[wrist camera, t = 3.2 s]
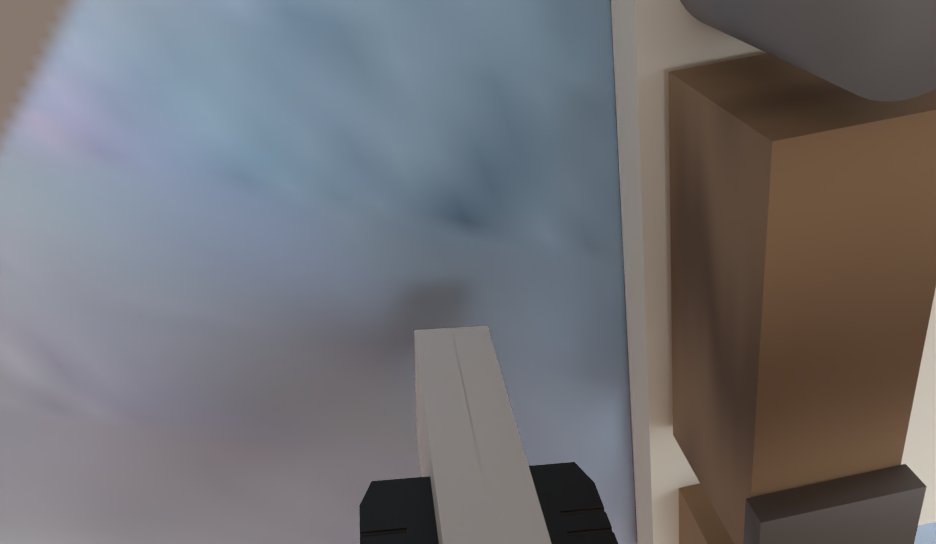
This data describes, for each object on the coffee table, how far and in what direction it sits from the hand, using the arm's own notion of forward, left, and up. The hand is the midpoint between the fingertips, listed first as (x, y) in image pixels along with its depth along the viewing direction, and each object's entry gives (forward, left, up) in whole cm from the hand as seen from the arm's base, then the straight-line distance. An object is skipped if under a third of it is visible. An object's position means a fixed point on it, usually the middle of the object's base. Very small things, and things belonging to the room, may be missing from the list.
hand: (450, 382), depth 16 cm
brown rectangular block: (-7, -1, -1) cm, 7 cm away
